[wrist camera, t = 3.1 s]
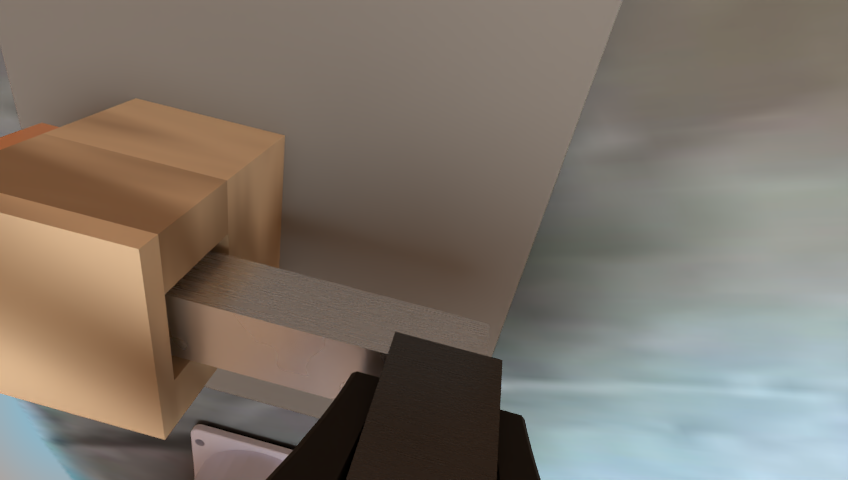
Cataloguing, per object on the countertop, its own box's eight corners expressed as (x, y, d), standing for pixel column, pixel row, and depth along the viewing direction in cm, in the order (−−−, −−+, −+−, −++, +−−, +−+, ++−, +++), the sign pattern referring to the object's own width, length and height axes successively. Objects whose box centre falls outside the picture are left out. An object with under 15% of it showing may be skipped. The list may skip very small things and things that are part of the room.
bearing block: (278, 284, 19) (165, 439, 13) (154, 251, 19) (-15, 389, 13) (284, 135, 16) (138, 249, 10) (136, 98, 16) (-97, 186, 10)
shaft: (475, 390, 14) (452, 622, 9) (-16, 257, 15) (-279, 407, 10) (504, 312, 13) (493, 539, 8) (-47, 167, 13) (-376, 293, 8)
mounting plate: (457, 437, 23) (455, 455, 22) (93, 337, 24) (77, 351, 23) (636, -60, 12) (644, -60, 12) (-28, -208, 13) (-66, -219, 12)
